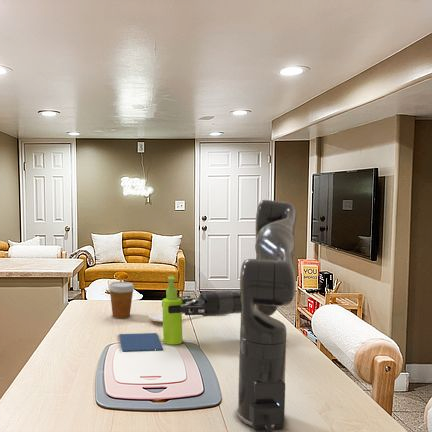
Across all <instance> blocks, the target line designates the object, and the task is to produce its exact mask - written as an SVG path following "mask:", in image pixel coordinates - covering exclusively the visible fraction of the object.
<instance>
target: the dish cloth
mask: <svg viewBox="0 0 432 432" xmlns="http://www.w3.org/2000/svg"><path fill="white" fill-rule="evenodd" d="M119 340H120V345H121V351H122V352H123V353H125V352H126V353H127V352H149V351H150V352H152V351H153V352H154V350H155V349H156V351H164V347H163V345H162V343H161V340H160V339H159V336H158V334H157V332H149V333H148V332H146V333H119Z"/></svg>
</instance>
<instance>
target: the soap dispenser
mask: <svg viewBox="0 0 432 432" xmlns="http://www.w3.org/2000/svg"><path fill="white" fill-rule="evenodd" d="M166 278H167V280H168V287H165V295H166V297H164V298H162V301H161V306H162V305H163V307H162V314H163V323H162V337H163V339H162V341H163V343H164V344H167V345H179V344H182V343H183V314H182V313H181V312H180V313H169V312H168V306H173V305H180V306H181V299H180V298H177V297H178V288H177V287H176V286H175V280H176V278H175V276H174V275H170V276H166Z"/></svg>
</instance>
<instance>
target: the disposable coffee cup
mask: <svg viewBox="0 0 432 432" xmlns="http://www.w3.org/2000/svg"><path fill="white" fill-rule="evenodd" d="M134 289H135V286H134V284H133V283H132V282H129V281H114V282H110V283H109V286H108V290H109V295H110V304H111V312H112V317H113V318H115V319H127V318H129V317H130V316H131V309H132V300H133V294H134Z"/></svg>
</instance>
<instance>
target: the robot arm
mask: <svg viewBox="0 0 432 432" xmlns="http://www.w3.org/2000/svg"><path fill="white" fill-rule="evenodd" d="M296 223H297V210H296V207H295V205H294V204H293V203H291V202H287V201H280V200H272V199H261V200H260V201H259V202H258V205H257V208H256V213H255V244H254V249H255V250H254V251H255V258H247V259H245V260H243V262H242V264H241V266H240V274H239V290H232V291H230V290H229V291H225V290H224V291H223V290H220V291H218V290H217V291H203V292H201V293H199V296H198V298H196V297H193V296H191V295H181V296H177V298H180V299H181V306H180V305H173V306H168V312H169V313H180V312H181V313H182V315H185V316H203V317H217V316H226V315H233V314H240V322H239V323H240V325H239V326H240V328H239V357H238V358H239V359H238V391H237V392H238V394H237V395H238V397H237V398H238V399H237V417H238V419H239V421H241V422H242V423H243V424H245V425H247V426H249V427H251V428H252V429H253V430H254V431H264V430H266V432H272V430H280V429H281V430H282V429H284V428H285V408H286V360H287V334H288V331H287V327H286V325H285V324H284V323H283V322H282V321H281V320H279V319H277V318H275V317H273V316H272V315H274V314H275V313H276V311H277V310H278V308H279V307H286V306H289V305H291V303H292V302H293V301H294V299H295V296H296V290H297V278H296V269H295V261H294V259H295V251H296V249H295V248H296V245H295V244H296V239H295V228H296ZM161 307H162V308H163V305H162V304H161Z"/></svg>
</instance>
